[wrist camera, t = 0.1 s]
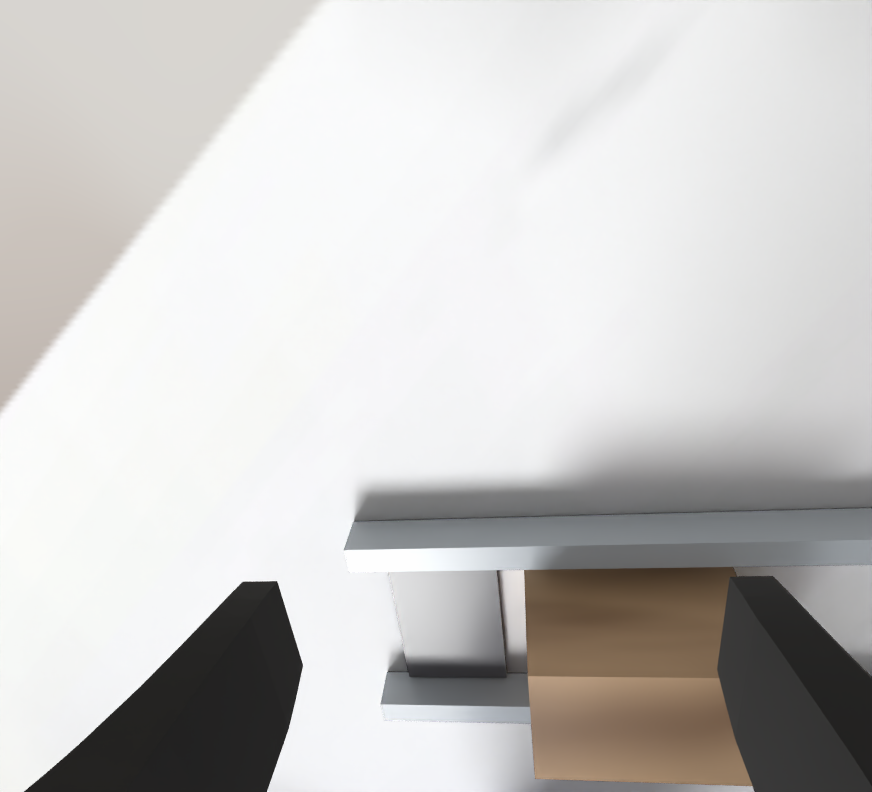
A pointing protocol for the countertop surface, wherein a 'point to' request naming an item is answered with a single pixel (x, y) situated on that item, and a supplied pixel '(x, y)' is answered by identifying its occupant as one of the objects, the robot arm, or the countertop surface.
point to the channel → (541, 550)
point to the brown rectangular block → (629, 676)
